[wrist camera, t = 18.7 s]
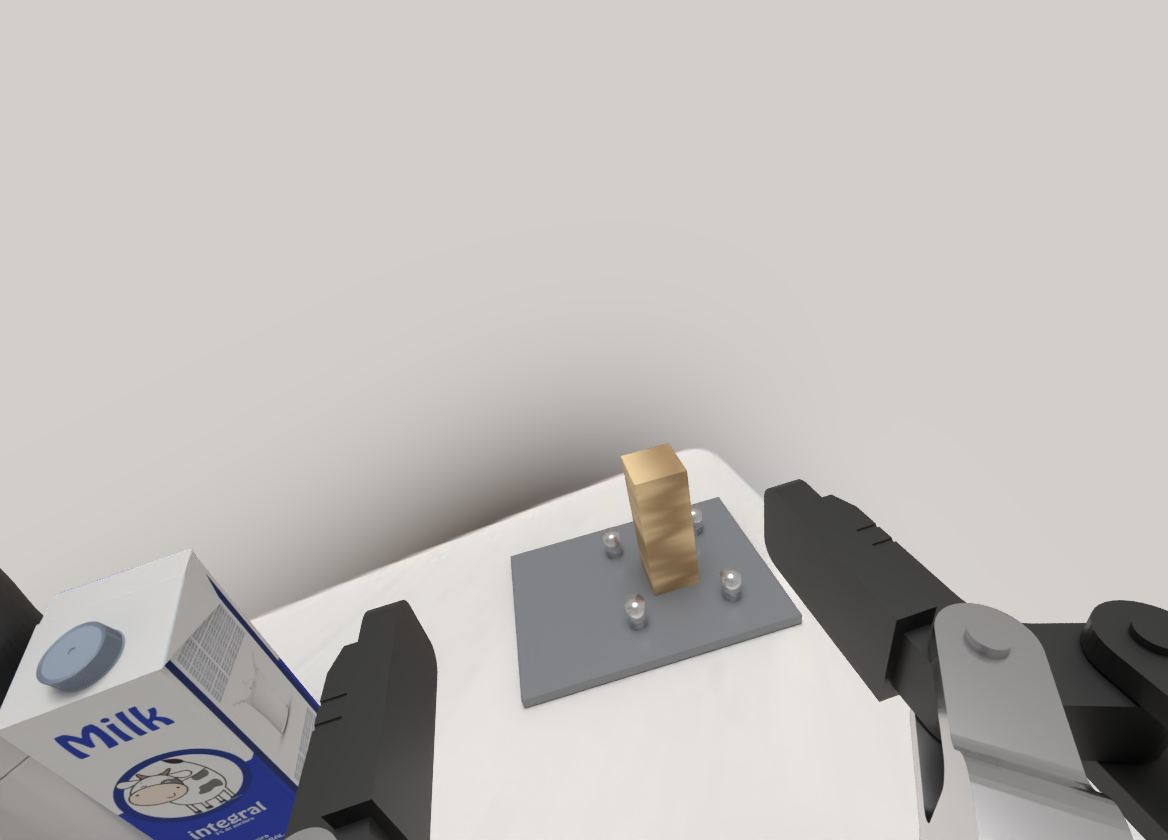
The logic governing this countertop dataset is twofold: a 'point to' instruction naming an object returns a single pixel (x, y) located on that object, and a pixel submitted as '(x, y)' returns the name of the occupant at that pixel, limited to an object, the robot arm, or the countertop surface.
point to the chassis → (636, 606)
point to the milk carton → (163, 705)
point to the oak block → (662, 517)
